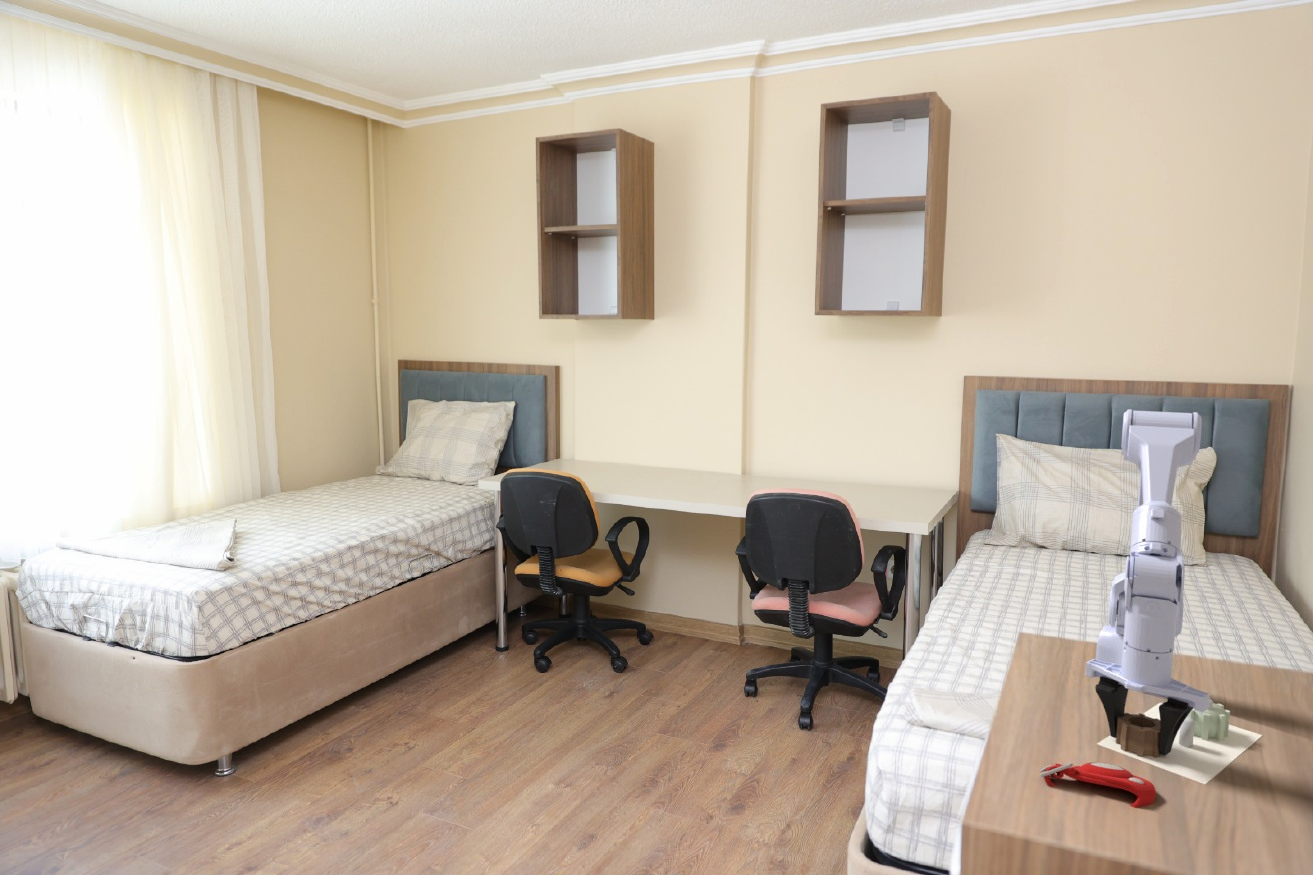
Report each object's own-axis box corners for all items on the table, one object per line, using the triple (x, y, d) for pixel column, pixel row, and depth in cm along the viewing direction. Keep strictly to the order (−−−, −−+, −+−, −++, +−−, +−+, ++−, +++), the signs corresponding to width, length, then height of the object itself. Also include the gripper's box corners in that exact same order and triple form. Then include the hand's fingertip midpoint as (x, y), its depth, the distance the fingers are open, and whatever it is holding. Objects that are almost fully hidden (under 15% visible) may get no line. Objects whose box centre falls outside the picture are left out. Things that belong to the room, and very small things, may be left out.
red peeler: (1099, 757, 113) (1173, 775, 104) (1098, 793, 113) (1172, 815, 104) (1030, 754, 109) (1101, 773, 100) (1029, 792, 108) (1100, 814, 99)
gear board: (1096, 751, 117) (1099, 711, 116) (1159, 708, 129) (1162, 673, 129) (1204, 792, 107) (1208, 749, 106) (1261, 742, 119) (1265, 703, 118)
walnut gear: (1109, 745, 116) (1111, 720, 116) (1127, 733, 120) (1129, 709, 119) (1152, 761, 112) (1155, 736, 112) (1170, 748, 115) (1172, 723, 115)
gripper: (1077, 636, 117) (1070, 732, 119) (1197, 670, 106) (1188, 775, 108) (1102, 624, 121) (1095, 717, 123) (1219, 656, 110) (1210, 757, 112)
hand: (1140, 743), depth 116 cm, fingers closed on walnut gear, 5 cm apart
